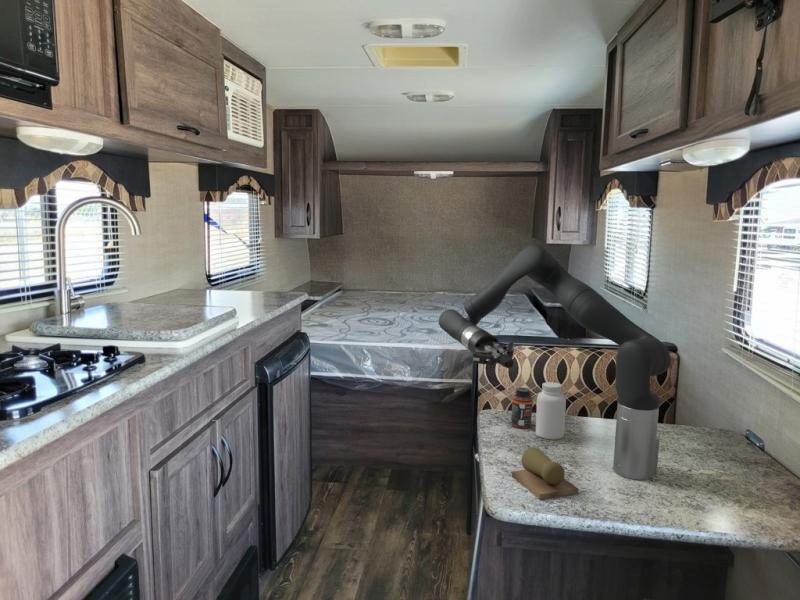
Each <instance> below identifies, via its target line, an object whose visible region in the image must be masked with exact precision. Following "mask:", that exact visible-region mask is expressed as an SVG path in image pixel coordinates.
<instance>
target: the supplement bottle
mask: <svg viewBox="0 0 800 600" xmlns="http://www.w3.org/2000/svg"><path fill="white" fill-rule="evenodd" d="M530 392H531V390H530V389H529V388H527V387H521V386H520V387H516V389H515V394H514V395H513V396H512V400H511V401H512V402H511V416H510V417H511V421H510V425H512V426H513V427H514V428H517V429H529V428H530V427H531V426H532V417H533V400H534V399H533V397H532V396H531V393H530Z"/></svg>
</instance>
